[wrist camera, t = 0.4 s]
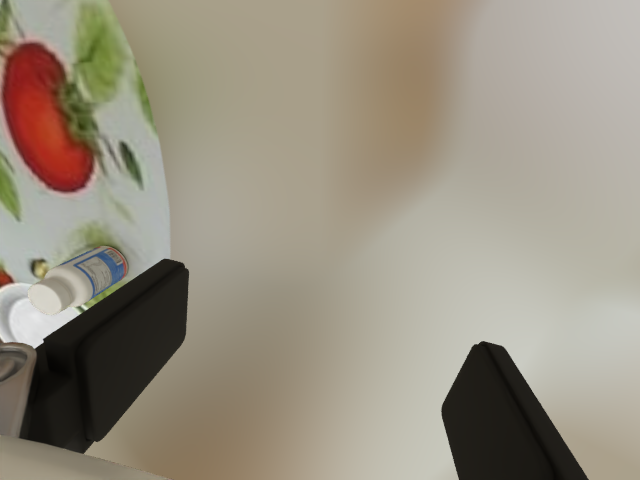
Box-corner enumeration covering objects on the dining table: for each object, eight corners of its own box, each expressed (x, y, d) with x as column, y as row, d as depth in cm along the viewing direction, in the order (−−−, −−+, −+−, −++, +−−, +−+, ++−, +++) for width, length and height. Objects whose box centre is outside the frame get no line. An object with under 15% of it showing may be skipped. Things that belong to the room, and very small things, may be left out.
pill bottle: (97, 276, 43) (26, 316, 34) (90, 242, 41) (14, 274, 32) (132, 282, 43) (70, 324, 34) (127, 247, 41) (59, 282, 32)
